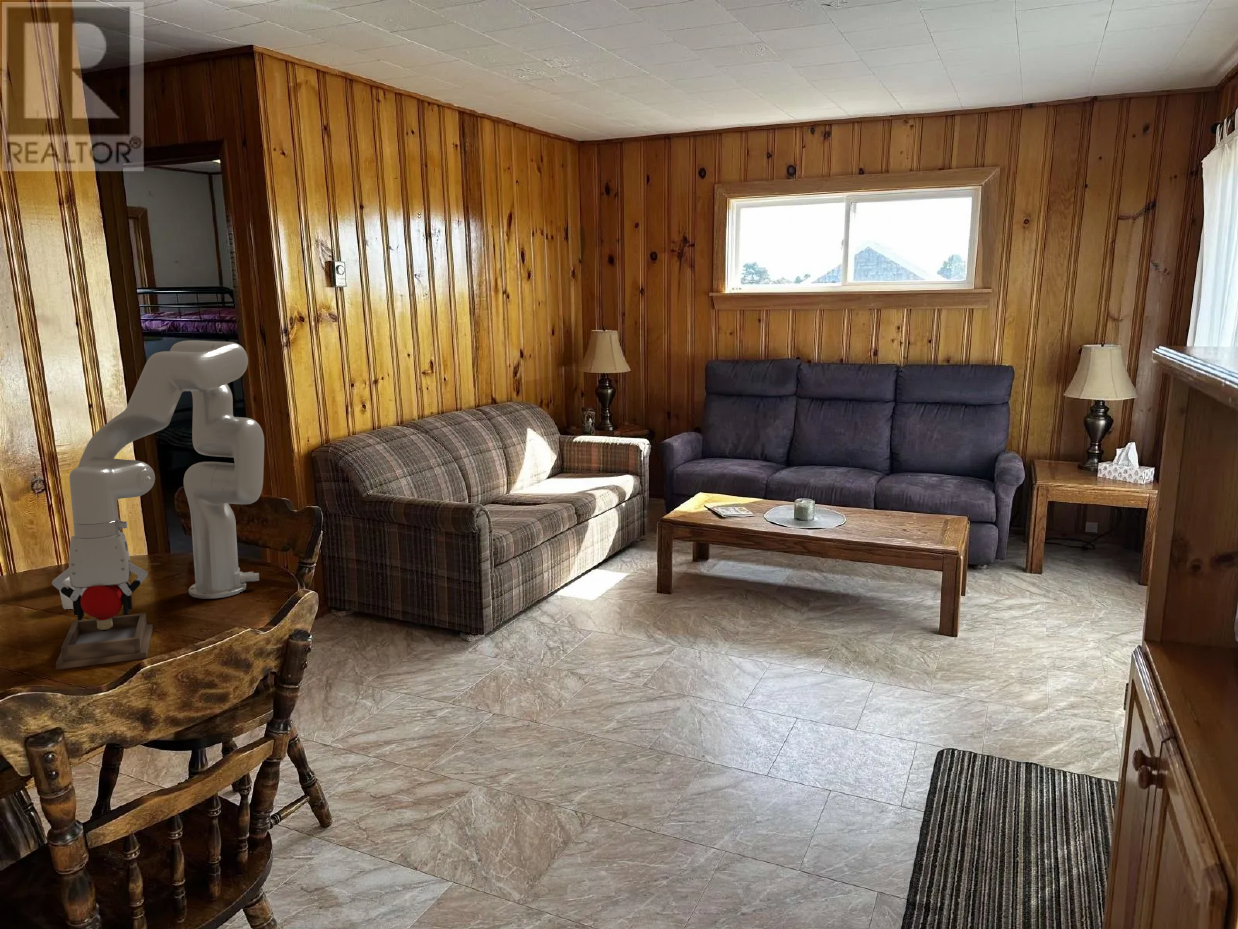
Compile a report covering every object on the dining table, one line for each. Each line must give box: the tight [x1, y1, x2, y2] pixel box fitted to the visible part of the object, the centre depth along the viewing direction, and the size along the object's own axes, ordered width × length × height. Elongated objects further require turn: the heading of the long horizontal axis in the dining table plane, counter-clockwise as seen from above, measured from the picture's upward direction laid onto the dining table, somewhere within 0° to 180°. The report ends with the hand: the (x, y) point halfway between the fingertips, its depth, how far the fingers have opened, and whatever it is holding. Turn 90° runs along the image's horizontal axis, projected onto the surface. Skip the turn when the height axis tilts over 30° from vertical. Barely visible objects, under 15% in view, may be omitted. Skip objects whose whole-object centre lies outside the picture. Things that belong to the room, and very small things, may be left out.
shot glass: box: [58, 577, 86, 610], centre depth 193 cm, size 7×7×7 cm
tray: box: [55, 612, 154, 671], centre depth 171 cm, size 15×16×4 cm
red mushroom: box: [80, 585, 124, 631], centre depth 169 cm, size 9×7×10 cm
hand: (104, 614), depth 169 cm, fingers closed on red mushroom, 7 cm apart
